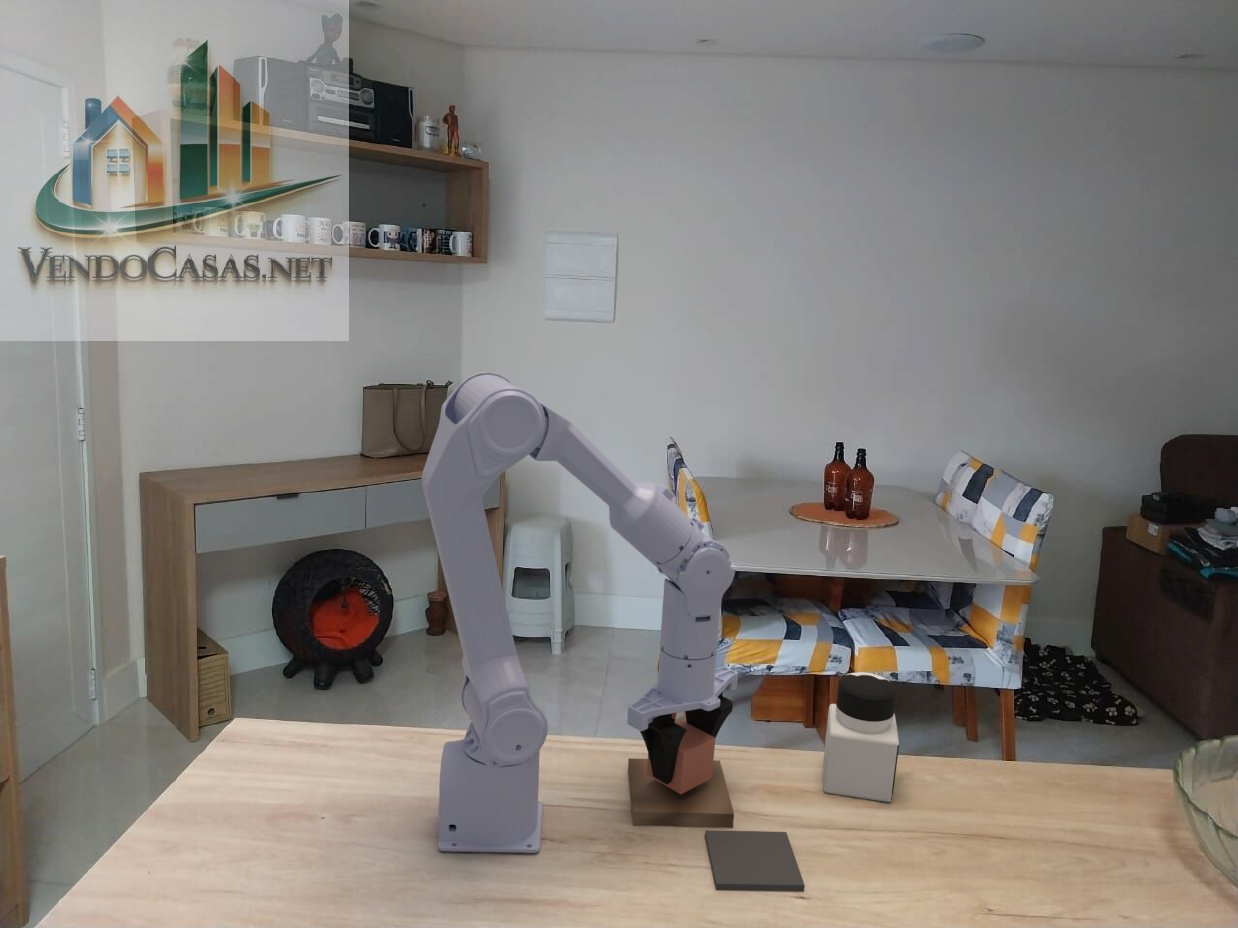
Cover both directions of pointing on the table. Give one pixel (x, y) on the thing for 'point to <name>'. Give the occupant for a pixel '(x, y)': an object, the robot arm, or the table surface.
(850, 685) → the medicine bottle
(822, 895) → the table surface
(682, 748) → the terracotta cube
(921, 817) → the table surface
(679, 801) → the post block
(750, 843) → the mat
